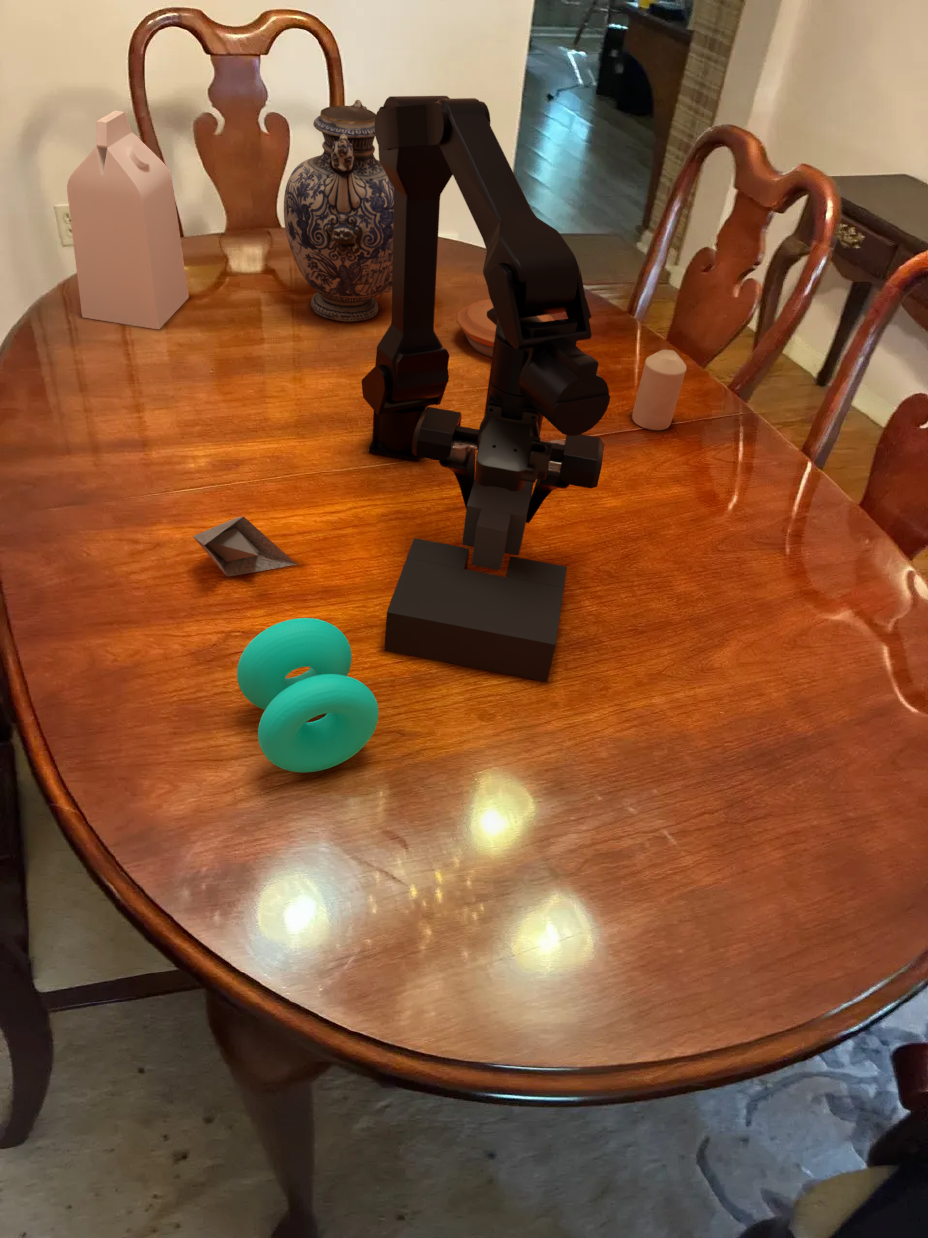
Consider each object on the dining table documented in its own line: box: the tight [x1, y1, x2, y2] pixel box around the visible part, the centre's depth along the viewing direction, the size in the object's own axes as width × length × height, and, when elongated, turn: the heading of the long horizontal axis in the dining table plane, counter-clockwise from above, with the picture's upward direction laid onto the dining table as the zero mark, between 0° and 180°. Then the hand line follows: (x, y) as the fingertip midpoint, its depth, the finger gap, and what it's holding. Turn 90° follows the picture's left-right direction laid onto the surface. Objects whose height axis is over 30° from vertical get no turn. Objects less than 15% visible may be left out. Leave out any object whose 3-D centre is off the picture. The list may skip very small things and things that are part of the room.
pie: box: [456, 298, 555, 358], centre depth 141 cm, size 15×16×5 cm
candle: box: [631, 349, 687, 431], centre depth 126 cm, size 6×6×10 cm
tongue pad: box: [461, 480, 535, 571], centre depth 96 cm, size 6×13×5 cm, turn 170°
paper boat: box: [192, 516, 298, 578], centre depth 94 cm, size 12×6×9 cm
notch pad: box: [384, 537, 568, 683], centre depth 92 cm, size 16×12×5 cm
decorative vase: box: [283, 99, 394, 323], centre depth 137 cm, size 21×19×28 cm
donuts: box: [236, 617, 380, 773], centre depth 77 cm, size 10×10×10 cm
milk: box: [66, 110, 190, 330], centre depth 130 cm, size 12×12×26 cm
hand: (498, 515), depth 98 cm, fingers closed on tongue pad, 6 cm apart
